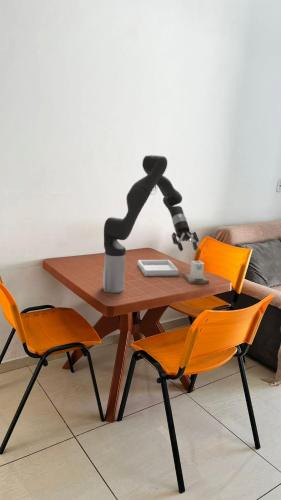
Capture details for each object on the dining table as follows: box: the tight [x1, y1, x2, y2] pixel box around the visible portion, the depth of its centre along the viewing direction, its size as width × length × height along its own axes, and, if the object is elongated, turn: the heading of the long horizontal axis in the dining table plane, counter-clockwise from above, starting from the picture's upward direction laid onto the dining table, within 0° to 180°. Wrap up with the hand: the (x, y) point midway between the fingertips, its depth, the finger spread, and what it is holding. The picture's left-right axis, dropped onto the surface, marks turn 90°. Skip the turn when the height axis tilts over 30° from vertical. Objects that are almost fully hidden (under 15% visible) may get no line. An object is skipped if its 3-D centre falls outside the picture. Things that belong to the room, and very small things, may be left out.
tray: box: [137, 259, 180, 277], centre depth 206 cm, size 18×18×3 cm
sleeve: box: [189, 260, 205, 279], centre depth 193 cm, size 5×6×8 cm
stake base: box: [182, 273, 210, 285], centre depth 194 cm, size 10×10×6 cm
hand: (189, 250), depth 199 cm, fingers open, 8 cm apart
